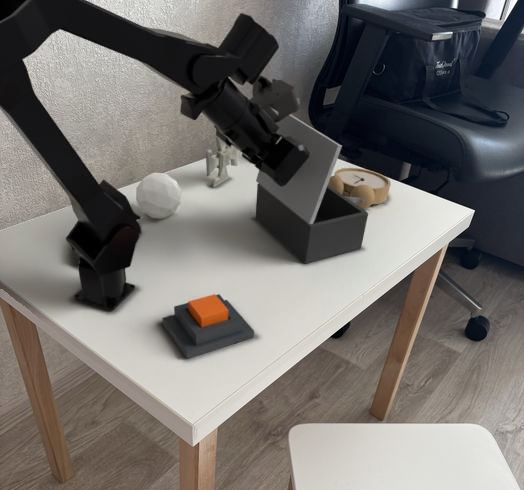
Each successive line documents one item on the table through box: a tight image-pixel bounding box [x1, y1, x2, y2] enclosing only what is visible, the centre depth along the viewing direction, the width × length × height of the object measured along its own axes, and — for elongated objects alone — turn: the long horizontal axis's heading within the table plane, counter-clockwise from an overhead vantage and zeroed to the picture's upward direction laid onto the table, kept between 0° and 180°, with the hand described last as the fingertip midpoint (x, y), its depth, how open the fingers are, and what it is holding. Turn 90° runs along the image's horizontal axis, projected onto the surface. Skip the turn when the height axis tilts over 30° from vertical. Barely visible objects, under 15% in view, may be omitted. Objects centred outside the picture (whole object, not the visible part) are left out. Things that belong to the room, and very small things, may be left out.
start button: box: [187, 293, 228, 328], centre depth 76 cm, size 4×4×2 cm
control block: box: [161, 293, 255, 360], centre depth 78 cm, size 10×8×3 cm
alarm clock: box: [328, 167, 392, 210], centre depth 112 cm, size 11×5×15 cm
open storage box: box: [254, 183, 369, 265], centre depth 99 cm, size 12×17×7 cm
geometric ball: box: [135, 171, 182, 219], centre depth 100 cm, size 8×8×8 cm
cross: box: [205, 134, 238, 188], centre depth 111 cm, size 10×3×10 cm, turn 149°
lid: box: [255, 114, 343, 224], centre depth 91 cm, size 12×17×1 cm
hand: (289, 174), depth 91 cm, fingers closed, pressing on lid
